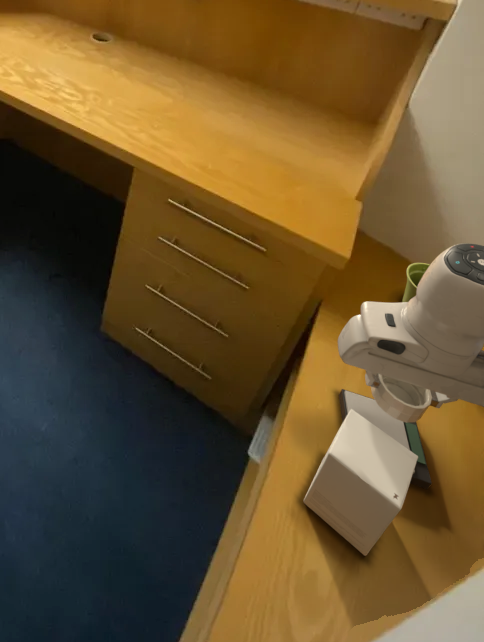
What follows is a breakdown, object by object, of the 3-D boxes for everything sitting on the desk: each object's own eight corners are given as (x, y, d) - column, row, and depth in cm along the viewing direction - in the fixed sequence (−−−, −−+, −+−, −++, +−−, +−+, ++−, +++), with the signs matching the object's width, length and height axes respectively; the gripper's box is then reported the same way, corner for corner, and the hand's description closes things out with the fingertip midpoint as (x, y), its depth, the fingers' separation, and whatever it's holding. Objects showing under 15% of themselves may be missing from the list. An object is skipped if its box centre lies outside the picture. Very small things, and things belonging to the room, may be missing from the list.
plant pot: (385, 307, 106) (400, 280, 102) (400, 282, 112) (414, 254, 107) (438, 339, 100) (456, 311, 96) (451, 310, 105) (468, 282, 101)
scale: (409, 418, 88) (415, 409, 86) (427, 489, 79) (433, 482, 77) (338, 394, 91) (342, 386, 90) (347, 461, 82) (352, 453, 81)
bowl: (414, 387, 82) (424, 371, 79) (425, 431, 76) (437, 415, 74) (366, 372, 84) (375, 356, 82) (374, 414, 78) (384, 398, 76)
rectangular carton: (385, 505, 77) (422, 456, 70) (365, 558, 72) (403, 512, 64) (323, 455, 83) (351, 405, 75) (300, 501, 78) (328, 452, 70)
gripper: (515, 343, 71) (473, 397, 78) (351, 297, 78) (326, 351, 84) (535, 386, 66) (488, 440, 73) (358, 334, 72) (330, 388, 79)
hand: (400, 392), depth 79 cm, fingers closed on bowl, 7 cm apart
